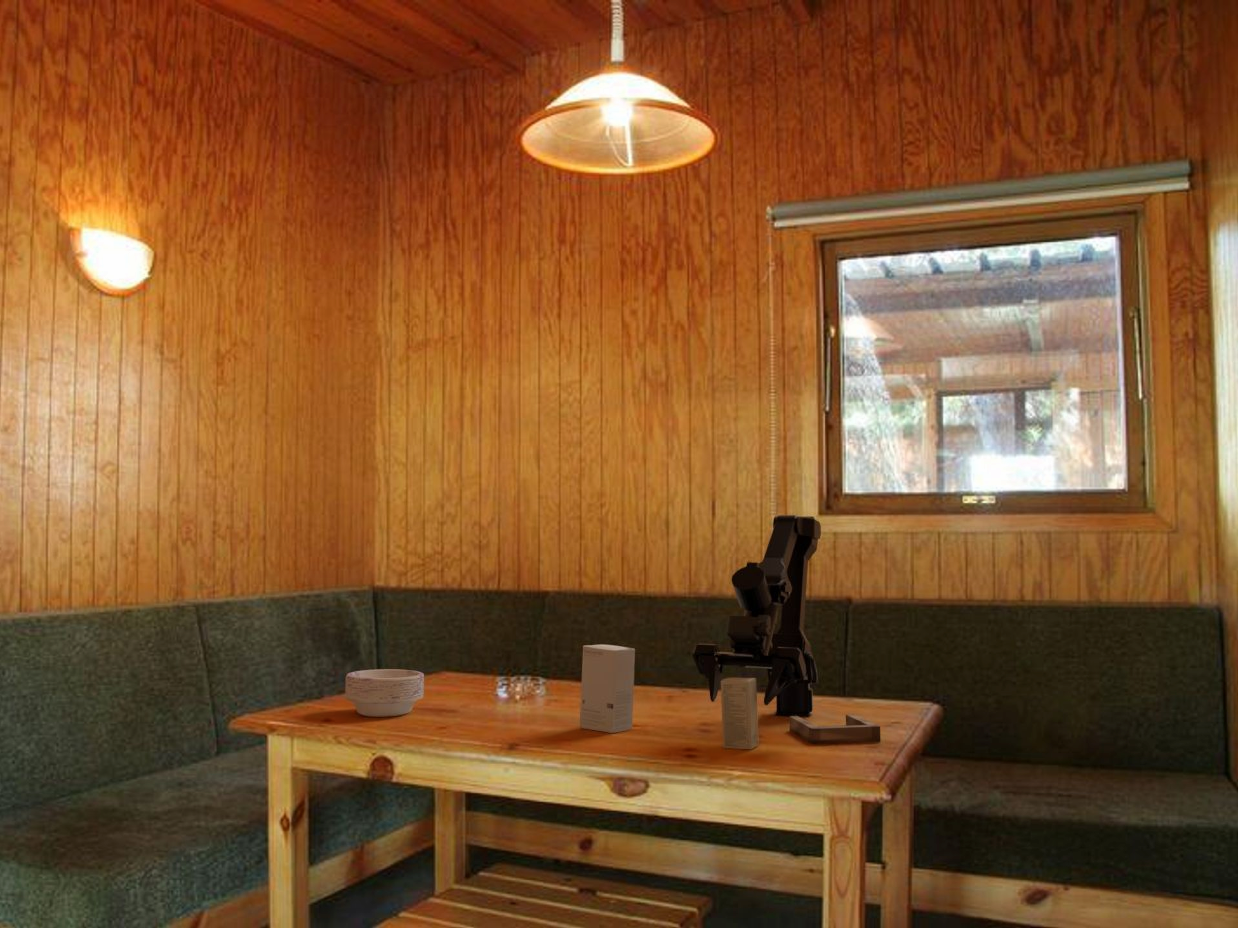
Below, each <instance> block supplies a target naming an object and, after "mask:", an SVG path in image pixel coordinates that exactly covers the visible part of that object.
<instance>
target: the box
mask: <svg viewBox="0 0 1238 928" xmlns="http://www.w3.org/2000/svg"><path fill="white" fill-rule="evenodd" d="M757 688H758V687H757V678H756V677H733V676H732V677H726V678H722V680H721V684H720V693H721V694H720V697H721V699H720V700H721V701H720V702H721V725H722V727H721V728H722V729H721V730H722V731H721V732H722V748H723V749H739V750H753V749H754V748H756V747H757V746H759V744H760V742H759V741H760V739H759V719H758V718H759V717H758V693H757V691H758V689H757Z"/></svg>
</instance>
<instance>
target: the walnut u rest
mask: <svg viewBox="0 0 1238 928" xmlns="http://www.w3.org/2000/svg"><path fill="white" fill-rule="evenodd" d="M788 716H789V717H788V718H789V719H788V720H789V731H790V732H791V733H793V734H795V735H796V736H798V737H800V738H801V739H803V740H805V741H806V742H808V743H810V744H812V745H816V744H817V745H818V744H819V745H820V744H824V745H825V744H844V743H845V744H846V743H874V742H873V741H878V742H882V741H881V726H880V725H878V724H877V723H874V722H872V721H869V720H867V719H865V718H863V717H861V716H859V715H857V714H854V713H850V714H849V713H848V714H847V713H846V714H845V725H844V724H843V725H842V724H841V725H838V724H837V725H815V724H813V723H811V722H809V721H808V720H805V719H803V718H802V717H801V716H793V715H788ZM871 741H872V742H871Z"/></svg>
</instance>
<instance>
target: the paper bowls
mask: <svg viewBox="0 0 1238 928" xmlns="http://www.w3.org/2000/svg"><path fill="white" fill-rule="evenodd" d="M344 691H345V693H344V695H345V696H344V697H345V699H346V700H347V701H348V702H352V703H353V704H354V707H355V710H356V712H357V713H358V714H359V715H360V716H361V715H362V716H365V717H372V718H390V717H397V716H403V715H406V714H408V713H410V712H411V711H412V709H413V707H414V705H415V703H416V702H417V701H418V700H421V699H423V698H424V692H425V674H424V673H423V672H421V671H418V670H412V669H411V670H408V669H393V668H391V669H389V668H386V669H385V668H384V669H382V668H381V669H364V670H357V671H356V670H355V671H352V672H348V673H347V674H346V675H345V687H344Z"/></svg>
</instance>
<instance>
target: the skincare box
mask: <svg viewBox="0 0 1238 928" xmlns="http://www.w3.org/2000/svg"><path fill="white" fill-rule="evenodd" d="M635 659H636V649H635V648H633V647H627V646H620V645H612V644H592V645H591V644H590V645H587V644H586V645H582V666H581V667H582V668H581V686H580V688H581V689H580V707H579V708H580V709H579V710H580V711H579V713H580V714H579V727H580V729H583V730H584V729H585V730H590V731H597V732H598V731H599V732H603V733H604V732H605V733H608V734H616V733H621V732H626V731H627V732H628V731H631V730H633V722H634V720H633V719H634V718H633V717H634V714H633V713H634V691H635V690H634V689H635V688H634V687H635V661H636V660H635Z"/></svg>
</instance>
